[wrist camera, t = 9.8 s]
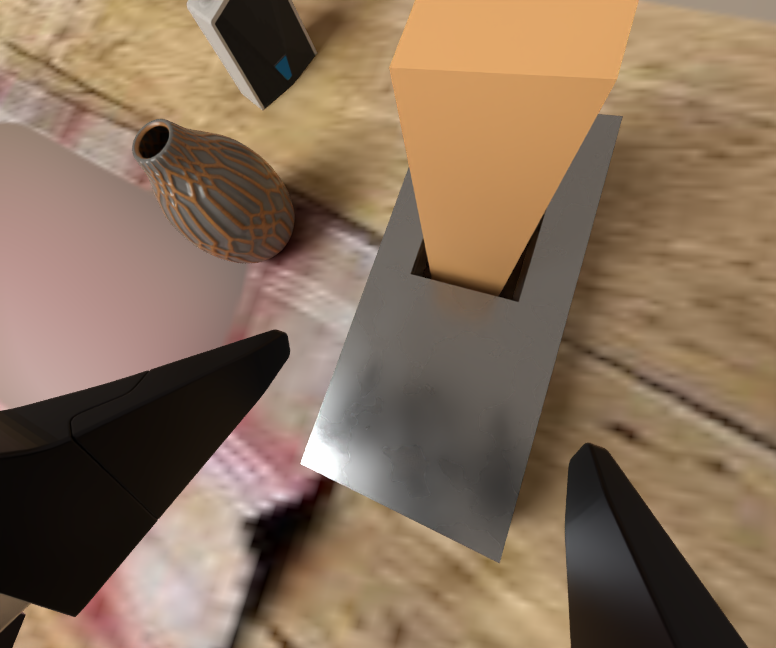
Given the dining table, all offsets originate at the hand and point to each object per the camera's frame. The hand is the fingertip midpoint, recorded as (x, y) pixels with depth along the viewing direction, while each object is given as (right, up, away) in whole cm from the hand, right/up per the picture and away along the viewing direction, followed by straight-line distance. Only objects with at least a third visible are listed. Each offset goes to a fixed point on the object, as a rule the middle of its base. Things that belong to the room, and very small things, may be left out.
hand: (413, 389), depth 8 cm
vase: (-10, +9, +13) cm, 19 cm away
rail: (+4, +3, +9) cm, 10 cm away
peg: (+5, +6, +9) cm, 12 cm away
